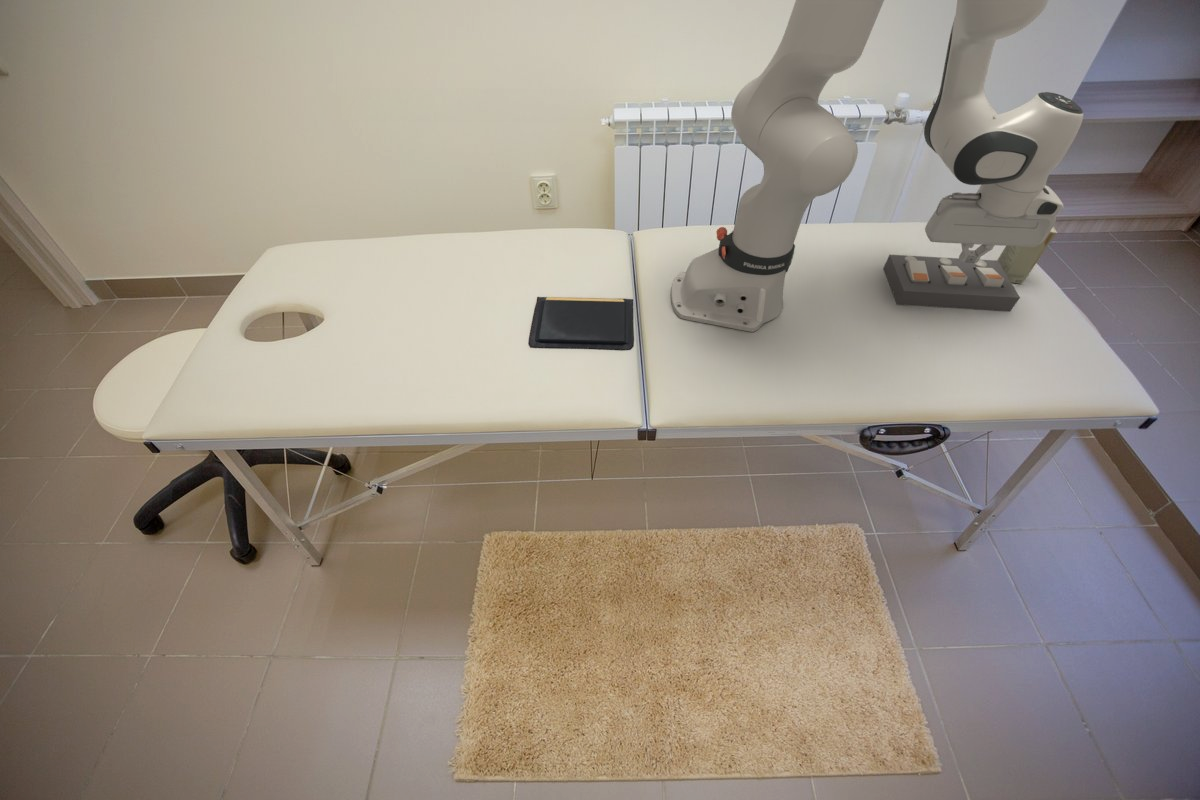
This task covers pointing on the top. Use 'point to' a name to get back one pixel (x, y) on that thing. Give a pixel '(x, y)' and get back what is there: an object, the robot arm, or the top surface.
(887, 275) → the switch panel
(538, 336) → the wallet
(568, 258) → the top surface
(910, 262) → the rocker left
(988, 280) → the rocker right
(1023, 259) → the skincare box
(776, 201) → the robot arm
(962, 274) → the rocker middle
